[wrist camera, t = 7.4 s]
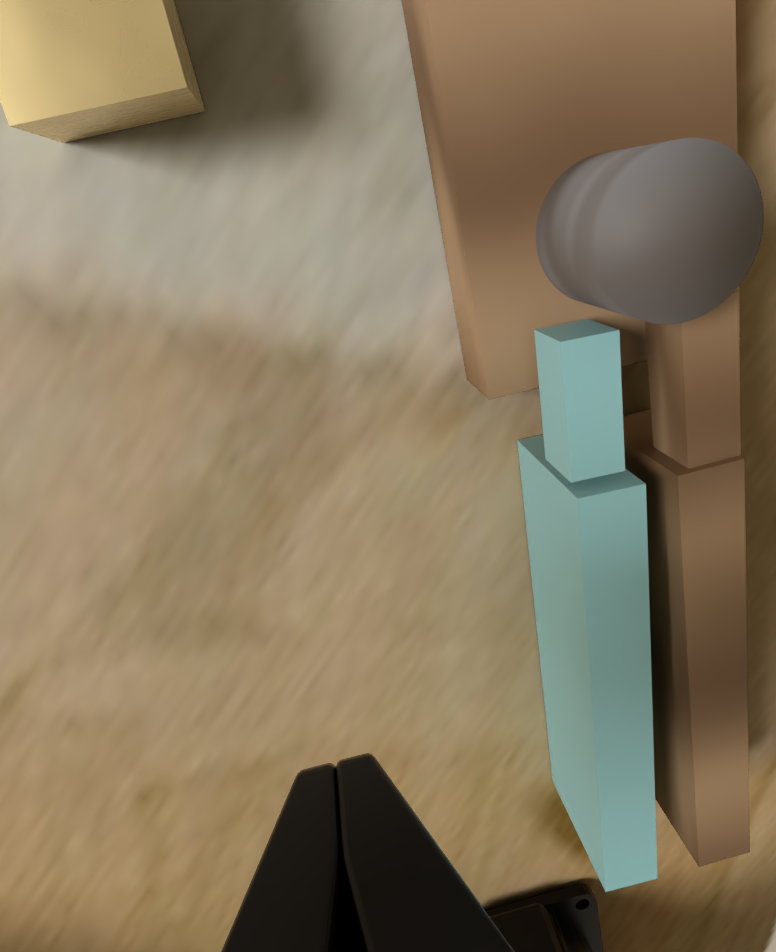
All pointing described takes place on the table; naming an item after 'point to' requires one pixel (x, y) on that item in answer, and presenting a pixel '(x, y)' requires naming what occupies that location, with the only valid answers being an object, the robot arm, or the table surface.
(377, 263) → the table surface
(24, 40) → the block
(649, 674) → the bar
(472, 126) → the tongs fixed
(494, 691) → the table surface
